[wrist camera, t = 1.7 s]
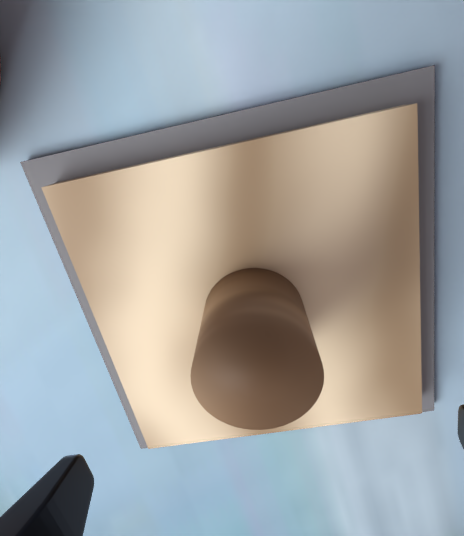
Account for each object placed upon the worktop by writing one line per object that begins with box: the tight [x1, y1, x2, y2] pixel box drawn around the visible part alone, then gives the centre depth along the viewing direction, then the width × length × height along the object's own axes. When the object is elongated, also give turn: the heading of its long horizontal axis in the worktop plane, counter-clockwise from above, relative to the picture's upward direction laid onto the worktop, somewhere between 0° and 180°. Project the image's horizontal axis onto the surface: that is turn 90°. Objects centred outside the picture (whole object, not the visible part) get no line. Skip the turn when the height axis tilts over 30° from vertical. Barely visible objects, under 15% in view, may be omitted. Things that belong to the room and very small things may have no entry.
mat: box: [20, 65, 435, 449], centre depth 15 cm, size 15×15×1 cm
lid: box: [41, 103, 422, 449], centre depth 13 cm, size 13×13×5 cm
